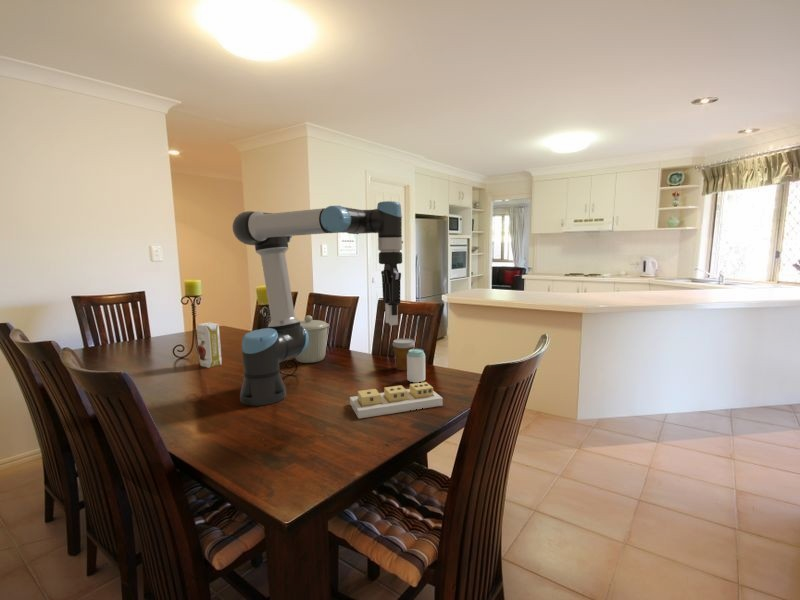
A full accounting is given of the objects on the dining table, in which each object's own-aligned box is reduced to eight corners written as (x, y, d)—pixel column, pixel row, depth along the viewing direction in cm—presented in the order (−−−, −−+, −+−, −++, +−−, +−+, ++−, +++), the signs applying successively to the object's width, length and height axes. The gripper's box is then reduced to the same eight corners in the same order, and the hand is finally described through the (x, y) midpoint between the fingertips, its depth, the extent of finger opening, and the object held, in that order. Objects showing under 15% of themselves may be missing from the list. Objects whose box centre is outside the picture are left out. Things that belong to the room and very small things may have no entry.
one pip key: (362, 408, 125) (362, 397, 124) (358, 401, 130) (357, 390, 130) (381, 405, 127) (380, 394, 126) (375, 398, 132) (375, 388, 132)
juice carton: (213, 361, 186) (210, 321, 184) (224, 364, 181) (221, 323, 179) (197, 365, 180) (194, 324, 178) (207, 368, 175) (204, 326, 173)
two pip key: (390, 404, 128) (390, 393, 127) (384, 397, 133) (384, 387, 133) (407, 401, 129) (407, 390, 129) (401, 395, 135) (401, 384, 135)
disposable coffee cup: (419, 367, 173) (418, 339, 171) (407, 372, 165) (407, 344, 164) (400, 363, 178) (400, 337, 177) (388, 369, 170) (387, 341, 169)
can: (424, 384, 151) (423, 353, 150) (405, 383, 153) (405, 352, 151) (426, 378, 158) (426, 348, 156) (409, 377, 159) (408, 347, 158)
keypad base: (358, 418, 122) (358, 410, 121) (350, 404, 133) (349, 397, 132) (442, 405, 131) (442, 398, 130) (428, 393, 142) (428, 386, 142)
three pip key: (416, 400, 130) (416, 389, 130) (409, 394, 136) (409, 383, 136) (433, 398, 132) (433, 387, 132) (426, 391, 138) (426, 381, 138)
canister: (293, 356, 194) (291, 313, 191) (331, 354, 196) (329, 311, 193) (287, 366, 176) (284, 319, 174) (328, 365, 178) (327, 318, 175)
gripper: (410, 251, 122) (411, 327, 125) (393, 251, 137) (394, 318, 140) (386, 251, 119) (388, 329, 122) (372, 251, 135) (373, 320, 138)
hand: (391, 323), depth 131 cm, fingers open, 3 cm apart
